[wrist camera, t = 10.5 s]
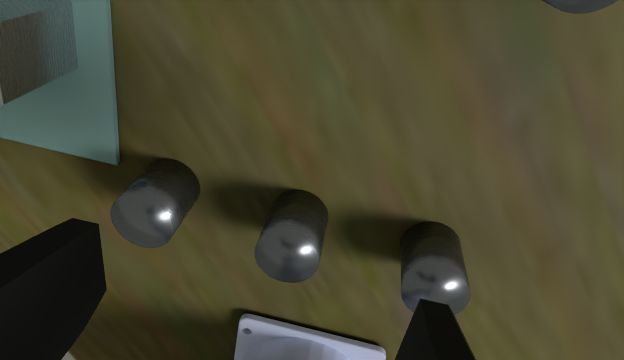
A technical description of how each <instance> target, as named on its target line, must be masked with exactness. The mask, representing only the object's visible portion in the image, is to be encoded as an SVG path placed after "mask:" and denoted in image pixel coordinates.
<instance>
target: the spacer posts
mask: <svg viewBox="0 0 624 360" xmlns="http://www.w3.org/2000/svg"><path fill="white" fill-rule="evenodd" d="M542 1H544V2H546V3H548V4H550V5H551V6H553V7H555V8H557V9H559V10H561V11H564V12H568V13H589V12H593V11H597V10H600V9H602V8H605V7H607V6H609V5H611V4H612V3H614V2H616V1H617V0H542ZM199 194H200V184H199V181H198V179H197V177H196V175H195V174H194V173H193V171H192V170H191V169H190V168H188V167H187V166H186V165H184V164H183V163H181V162H178V161H176V160H172V159H160V160H157V161H155V162H153V163H152V164H151V165H150V166H149V167H148V168H147V169H146V170H145V171H144V172H143V173H142V174H141V175H140V176H139V177H138V178H137V179H136V180H135V181H134V182H133V183H132V184H131V185H130V186H129V187H128V188H127V189H126V191H125V192H124V193H123V194H122V195H121V196H120V197H119V198H118V199H117V200H116V201H115V202H114V203H113V205H112V207H111V211H110V215H111V220H112V223H113V225H114V227H115V228H116V230H117V231H118V232H119V233H120V234H121V235H122V236H123V237H124V238H125V239H127V240H128V241H130V242H131V243H133V244H135V245H138V246H141V247H146V248H156V247H160V246H163V245H164V244H166V243H167V242H168V241H169V240H170V238H171V237H172V235H173V234H174V233H175V231H176V230H177V228H178V227H179V225H180V224H181V222H182V221H183V219H184V218H185V216H186V215H187V214H188V212H189V211H190V209H191V208H192V206H193V205H194V203H195V202H196V200H197V199H198V197H199ZM327 223H328V211H327V208H326V206H325V205H324V203H323V202H322V201H321V200H320V199H319V198H318V197H317V196H315V195H313V194H311V193H309V192H306V191H301V190H293V191H288V192H285V193H283V194H281V195H280V196H279V197H278V198H277V199H276V200H275V201H274V203H273V206H272V208H271V211H270V213H269V216H268V218H267V220H266V223H265V225H264V228H263V230H262V233H261V235H260V237H259V240H258V242H257V245H256V247H255V259H256V262H257V264H258V265H259V267H260V268H261V269H262V270H263V271H264V272H265V273H266V274H267V275H269V276H270V277H272V278H274V279H276V280H279V281H283V282H290V283H294V282H301V281H304V280H306V279H308V278H310V277H311V276H312V275H314V273H315V272H316V271H317V269H318V266H319V261H320V256H321V251H322V247H323V242H324V237H325V232H326V227H327ZM400 253H401V293H402V299H403V301H404V303H405V305H406V306H407V307H408V308H409V309H410V310H411V311H413V312H415V309H416V307H417V305H418V302H419V300H420V298H421V299H425V300H430V301H434V302H438V303H443V304H447V305H449V306H450V308H451V310H452V312H453V314H456V313H458V312H460V311H461V310H462V309H464V308H465V306H466V305H467V304H468V302H469V300H470V288H469V283H468V278H467V274H466V269H465V264H464V259H463V254H462V249H461V245H460V240H459V237H458V236H457V234H456V233H455V232H454V231H453V230H452V229H451V228H449V227H448V226H446V225H443V224H440V223H434V222H427V223H421V224H418V225H415V226H413V227H411V228H410V229H409V230H407V231H406V232H405V234H404V235H403V237H402V239H401V243H400Z"/></svg>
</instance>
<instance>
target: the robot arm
mask: <svg viewBox="0 0 624 360" xmlns="http://www.w3.org/2000/svg"><path fill="white" fill-rule="evenodd" d="M106 290H107V289H106V281H105V273H104V264H103V256H102V248H101V240H100V231H99V224H96V223H92V222H88V221H83V220H79V219H75V218H72V219H69V220H67V221H65V222H63V223H61V224H59V225H56V226H54V227H52V228H50V229H48V230H46V231H44V232H42V233H40V234H38V235H36V236H34V237H32V238H30V239H28V240H26V241H24V242H23V243H21V244H19V245H17V246H15V247H13V248H11V249H9V250H7V251H5V252H3V253H1V254H0V360H61V359H62V358H63V357H64V355H65V354H66V353H67V351H68V350H69V349H70V347H71V346H72V345H73V343H74V342H75V341H76V339H77V338H78V337H79V335H80V334H81V332H82V331H83V330H84V328H85V326H86V325H87V323H88V321H89V320H90V318H91V316H92V315H93V313H94V311H95V309H96V308H97V306H98V304H99V302H100V301H101V299H102V297H103V295H104V293H105V292H106ZM385 359H386V351H385V350H384V349H383V348H382V347H380V346H376V345H372V344H368V343H364V342H360V341H356V340H352V339H348V338H344V337H340V336H336V335H332V334H328V333H324V332H320V331H316V330H312V329H309V328H305V327H301V326H297V325H293V324H289V323H285V322H281V321H277V320H273V319H269V318H265V317H261V316H257V315H253V314H244V315H242V316H241V318H240V321H239V326H238V333H237V341H236V348H235V356H234V360H385ZM395 360H476V359H475V357H474V355H473V353H472V351H471V349H470V347H469V345H468V343H467V341H466V339H465V337H464V335H463V333H462V331H461V328H460V326H459V324H458V322H457V320H456V318H455V316H454V314H453V312H452V310H451V308H450V306H449V305H447V304H443V303H438V302H434V301H430V300H425V299H421V298H420V300H419V302H418V305H417V307H416V309H415V312H414V314H413V317H412V319H411V322H410V324H409V326H408V329H407V331H406V334H405V336H404V338H403V341H402V343H401V346H400V348H399V351H398V353H397V355H396V358H395Z"/></svg>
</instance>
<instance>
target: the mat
mask: <svg viewBox="0 0 624 360" xmlns="http://www.w3.org/2000/svg"><path fill="white" fill-rule="evenodd" d="M70 1H71V2H72V8H73V19H74V30H75V40H76V51H77V61H78V69H76V70H74V71H72V72H70V73H68V74H66V75H64V76H62V77H60V78H57V79H55V80H53V81H51V82H49V83H47V84H45V85H43V86H41V87H39V88H37V89H35V90H33V91H31V92H29V93H27V94H25V95H23V96H21V97H19V98H17V99H14V100H12V101H10V102H8V103H6V104H4V105H2V106H0V137H1V138H5V139H9V140H13V141H17V142H22V143H26V144H30V145H34V146H38V147H42V148H47V149H51V150H55V151H59V152H63V153H67V154H72V155H76V156H80V157H84V158H88V159H92V160H96V161H101V162H105V163H109V164H113V165H118V164H119V163H120V152H119V136H118V120H117V104H116V88H115V72H114V55H113V39H112V23H111V7H110V0H70Z"/></svg>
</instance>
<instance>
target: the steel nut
mask: <svg viewBox="0 0 624 360" xmlns="http://www.w3.org/2000/svg"><path fill="white" fill-rule="evenodd" d="M76 69H78V61H77V51H76V40H75V30H74V19H73V8H72V2H71V1H70V0H0V106H2V105H4V104H6V103H8V102H10V101H12V100H14V99H17V98H19V97H21V96H23V95H25V94H27V93H29V92H31V91H33V90H35V89H37V88H39V87H41V86H43V85H45V84H47V83H49V82H51V81H53V80H55V79H57V78H60V77H62V76H64V75H66V74H68V73H70V72H72V71H74V70H76Z"/></svg>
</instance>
